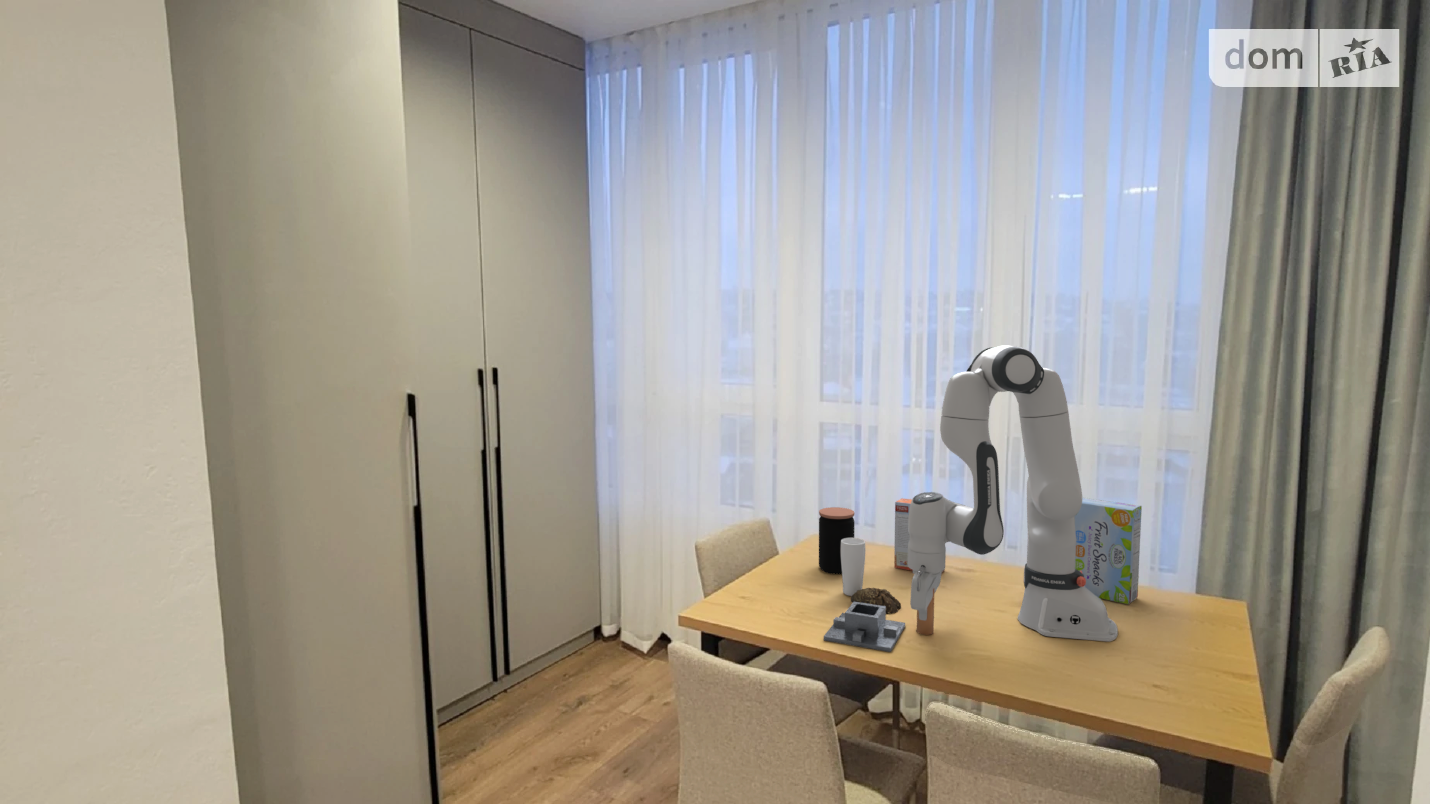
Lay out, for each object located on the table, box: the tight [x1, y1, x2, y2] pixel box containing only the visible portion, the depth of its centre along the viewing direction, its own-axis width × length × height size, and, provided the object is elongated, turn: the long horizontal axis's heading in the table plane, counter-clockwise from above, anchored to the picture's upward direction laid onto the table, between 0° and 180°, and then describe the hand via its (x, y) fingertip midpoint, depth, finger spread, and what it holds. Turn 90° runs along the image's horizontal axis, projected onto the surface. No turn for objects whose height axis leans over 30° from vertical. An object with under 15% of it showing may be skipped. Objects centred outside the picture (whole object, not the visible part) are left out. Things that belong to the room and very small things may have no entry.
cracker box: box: [893, 497, 946, 573], centre depth 232 cm, size 14×6×21 cm, turn 56°
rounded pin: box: [916, 589, 935, 636], centre depth 187 cm, size 4×4×11 cm
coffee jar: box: [818, 506, 855, 575], centre depth 233 cm, size 11×11×18 cm
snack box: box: [1075, 497, 1143, 605], centre depth 211 cm, size 22×9×26 cm, turn 46°
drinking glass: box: [841, 537, 866, 597], centre depth 213 cm, size 7×7×15 cm
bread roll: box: [850, 587, 902, 614], centre depth 205 cm, size 13×12×5 cm
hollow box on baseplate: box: [823, 602, 906, 653], centre depth 187 cm, size 16×16×6 cm
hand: (925, 615), depth 187 cm, fingers closed on rounded pin, 4 cm apart
